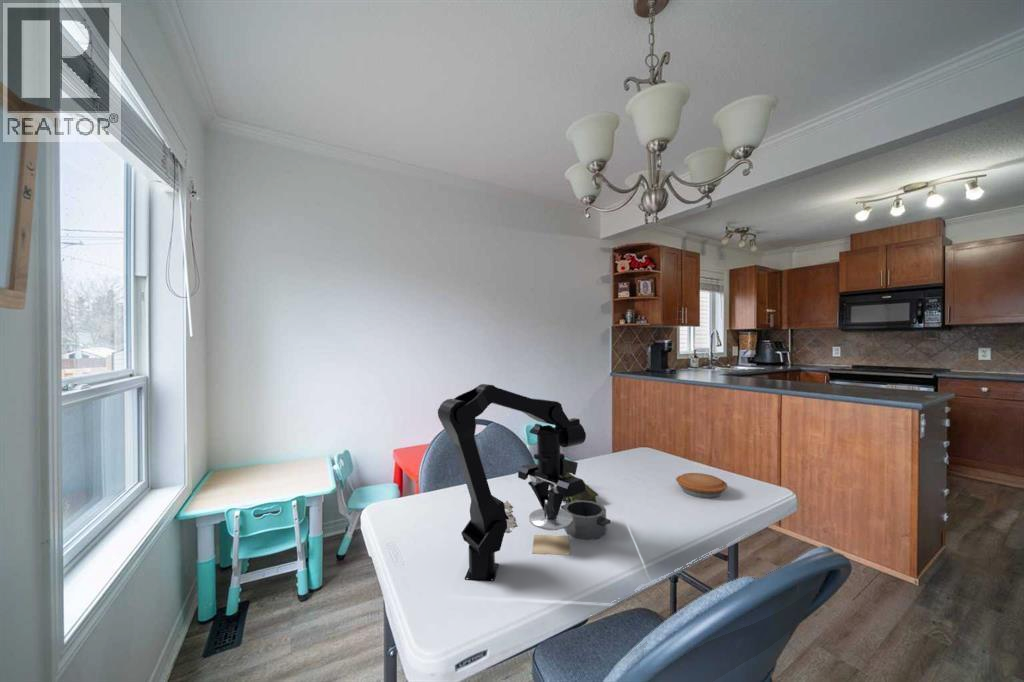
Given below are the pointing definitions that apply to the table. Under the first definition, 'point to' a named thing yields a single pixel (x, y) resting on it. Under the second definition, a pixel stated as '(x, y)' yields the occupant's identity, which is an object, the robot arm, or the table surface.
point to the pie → (701, 485)
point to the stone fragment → (510, 521)
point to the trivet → (551, 545)
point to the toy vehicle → (587, 495)
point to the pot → (586, 519)
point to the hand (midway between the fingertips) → (550, 513)
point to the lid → (550, 517)
